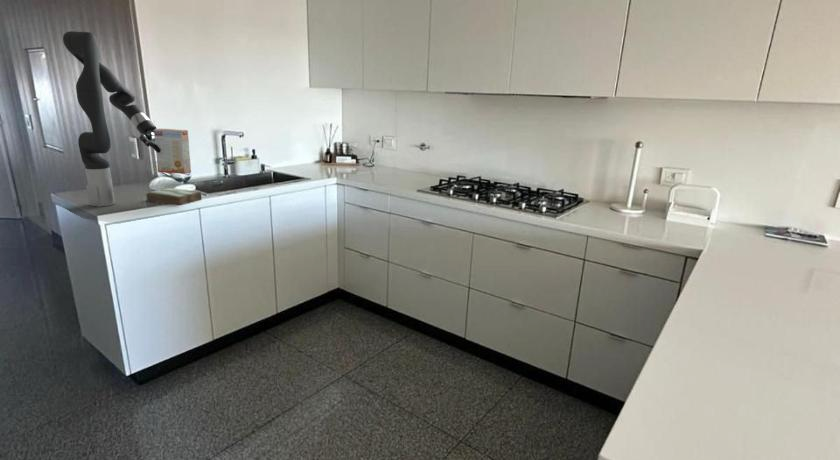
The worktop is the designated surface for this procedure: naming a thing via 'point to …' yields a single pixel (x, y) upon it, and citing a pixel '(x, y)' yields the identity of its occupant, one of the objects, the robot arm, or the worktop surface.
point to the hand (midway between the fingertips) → (165, 150)
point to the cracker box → (173, 151)
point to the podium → (173, 196)
